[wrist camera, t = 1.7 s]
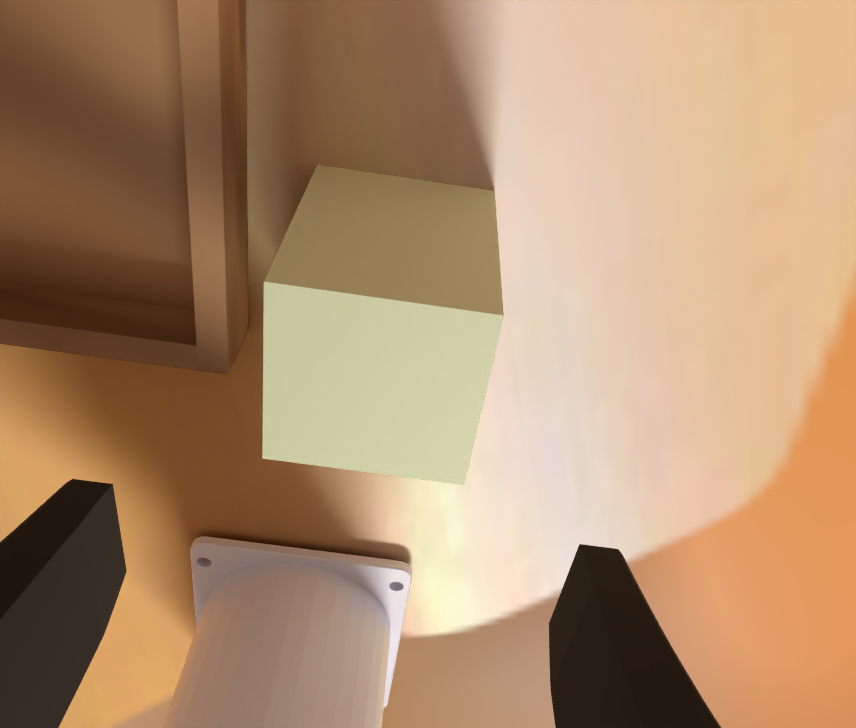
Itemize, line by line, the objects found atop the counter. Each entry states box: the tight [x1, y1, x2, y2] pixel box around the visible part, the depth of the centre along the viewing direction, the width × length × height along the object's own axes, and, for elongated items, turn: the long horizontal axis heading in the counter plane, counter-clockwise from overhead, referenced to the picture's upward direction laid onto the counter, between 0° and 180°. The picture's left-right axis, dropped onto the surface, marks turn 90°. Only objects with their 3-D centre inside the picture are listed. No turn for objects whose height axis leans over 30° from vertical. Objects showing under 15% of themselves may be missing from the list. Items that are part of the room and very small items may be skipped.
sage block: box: [262, 164, 504, 485], centre depth 18 cm, size 4×4×6 cm
